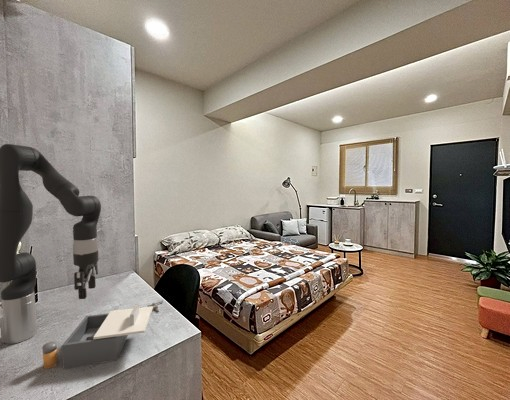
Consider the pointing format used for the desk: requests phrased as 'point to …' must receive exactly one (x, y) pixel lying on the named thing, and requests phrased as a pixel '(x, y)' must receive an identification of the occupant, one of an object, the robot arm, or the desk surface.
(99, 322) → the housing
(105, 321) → the lid
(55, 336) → the desk surface
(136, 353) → the desk surface
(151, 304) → the clamp
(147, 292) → the desk surface
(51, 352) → the peg
